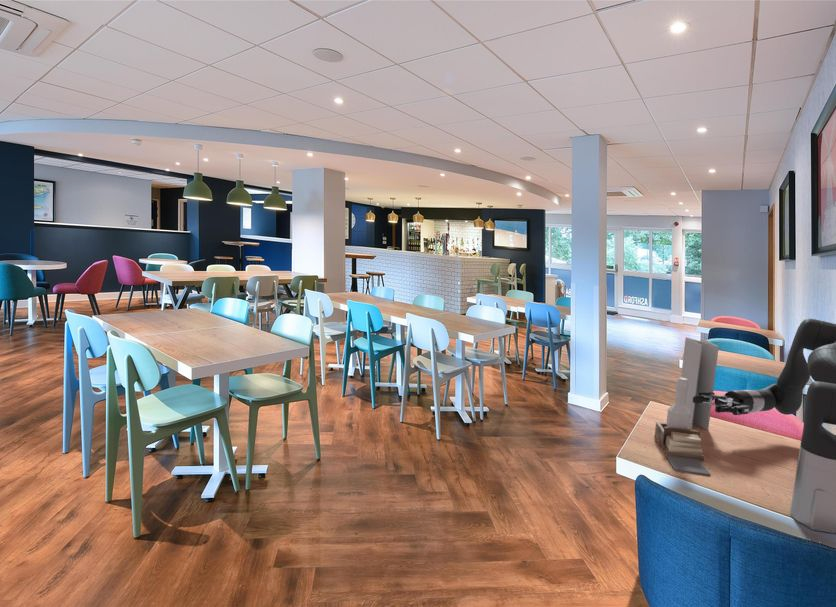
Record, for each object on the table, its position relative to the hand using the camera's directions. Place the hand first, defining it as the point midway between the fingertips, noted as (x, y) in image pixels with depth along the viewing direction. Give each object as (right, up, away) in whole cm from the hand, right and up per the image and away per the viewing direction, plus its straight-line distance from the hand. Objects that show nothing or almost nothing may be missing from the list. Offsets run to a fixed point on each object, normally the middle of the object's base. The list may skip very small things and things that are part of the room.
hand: (704, 404), depth 147 cm
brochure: (+8, -11, +19) cm, 24 cm away
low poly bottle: (-10, -13, -1) cm, 16 cm away
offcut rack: (-10, -13, -3) cm, 17 cm away
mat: (-15, -15, -15) cm, 25 cm away
